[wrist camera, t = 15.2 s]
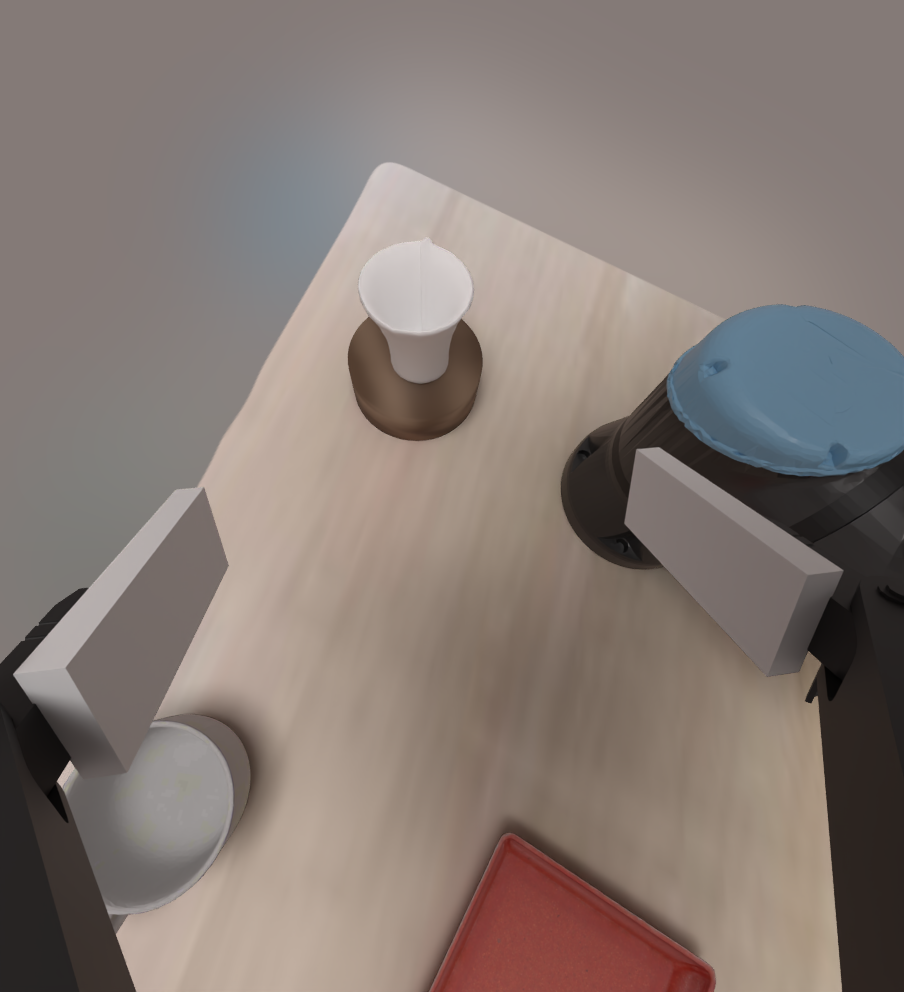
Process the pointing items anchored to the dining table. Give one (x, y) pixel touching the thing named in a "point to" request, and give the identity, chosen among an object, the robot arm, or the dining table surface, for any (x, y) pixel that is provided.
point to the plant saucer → (558, 936)
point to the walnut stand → (413, 385)
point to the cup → (416, 304)
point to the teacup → (161, 813)
